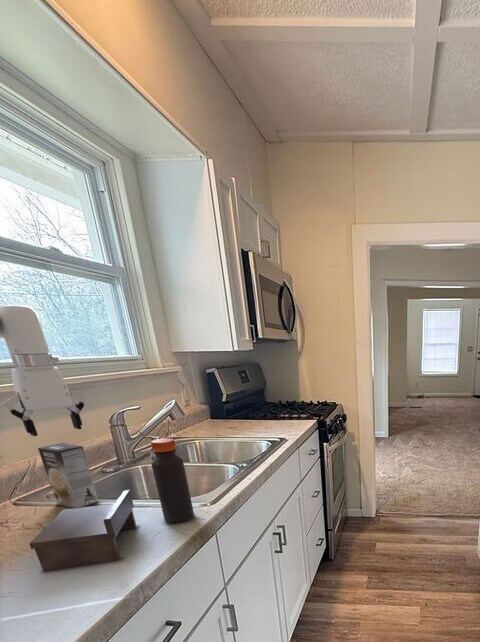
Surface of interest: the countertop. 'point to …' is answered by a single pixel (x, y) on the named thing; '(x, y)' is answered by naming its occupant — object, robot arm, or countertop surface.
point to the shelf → (84, 535)
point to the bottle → (171, 482)
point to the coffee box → (68, 474)
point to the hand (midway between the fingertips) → (56, 431)
